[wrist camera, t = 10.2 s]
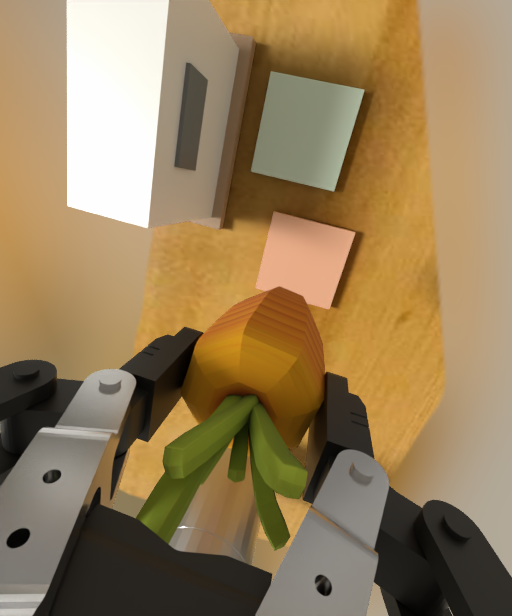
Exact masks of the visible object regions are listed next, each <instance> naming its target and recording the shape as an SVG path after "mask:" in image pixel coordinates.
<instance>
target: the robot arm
mask: <svg viewBox="0 0 512 616" xmlns="http://www.w3.org/2000/svg"><path fill="white" fill-rule="evenodd" d="M203 334H204V333H203V332H200V331H197V330H194V329H191V328H188V327H184V328H183V329H181V330H180V331H179V332H178V333H177V334H176V335H175V336H171V335H165V336H162V337H160V338H157V339H155V340H154V341H153V342H152V343H150V344H149V345H148V347H145V348H144V349H143V350H142V351H141V352H139V353H138V354H137V355H136V356H134V357H133V358H132V359H131V360H130V361H128V362H127V363H126V364H125V365H123V366H122V367H121V368H120V369H106V370H101V371H98V372H95V373H93V374H91V375H89V376H88V377H87V378H86V379H85V381H75V380H66V379H57V370H56V367H55V366H54V365H53V364H51V363H49V362H46V361H42V360H25V361H19V362H15V363H12V364H9V365H7V366H4V367H1V368H0V430H1V433H0V616H366V614H367V609H368V605H369V599H370V596H371V591H372V586H373V582H375V583H376V584H377V585H378V586H380V589H381V593H382V596H383V599H384V603H385V606H386V609H387V612H388V615H389V616H452V614H453V616H512V577H511V576H510V575H509V573H508V571H507V570H506V568H505V567H504V565H503V564H502V562H501V561H500V559H499V558H498V556H497V555H496V553H495V552H494V550H493V549H492V547H491V546H490V544H489V543H488V541H487V540H486V538H485V536H484V535H483V533H482V532H481V531H480V529H479V528H478V527H477V526H476V524H475V523H474V522H473V521H472V520H471V519H470V518H469V517H468V516H466V515H465V514H464V513H463V512H462V511H460V510H459V509H457V508H456V507H454V506H452V505H450V504H448V503H446V502H443V501H439V500H431V501H428V502H427V503H426V504H425V505H424V506H423V508H421V507H420V506H418V505H416V504H415V503H413V502H412V501H410V500H408V499H407V498H405V497H404V496H402V495H400V494H399V493H397V492H396V491H395V490H394V489H392V488H391V487H390V486H389V479H388V476H387V474H386V472H385V471H384V469H383V468H382V467H381V465H380V464H379V463H378V462H377V461H376V460H374V454H373V448H372V442H371V436H370V430H369V428H368V427H369V424H368V419H367V413H366V407H365V405H364V404H363V402H362V401H361V399H360V398H359V396H357V395H354V394H351V393H349V392H348V382H347V378H345V377H342V376H339V375H336V374H333V373H330V372H326V374H325V393H324V401H323V402H322V404H321V406H320V408H319V410H318V411H317V413H316V415H315V417H314V419H313V420H312V422H311V424H310V426H309V435H308V446H307V457H306V468H305V469H306V470H307V472H308V475H307V481H306V487H305V489H304V491H303V500H304V501H306V502H309V503H312V504H313V505H311V507H310V508H309V510H308V512H307V514H306V516H305V518H304V520H303V522H302V524H301V526H300V528H299V530H298V532H297V534H296V536H295V538H294V540H293V542H292V544H291V546H290V548H289V550H288V552H287V554H286V556H285V558H284V560H283V562H282V563H281V565H280V567H279V569H278V571H277V573H276V575H275V577H274V579H273V581H272V583H271V579H272V574H271V573H269V572H266V571H264V570H261V569H259V568H257V567H254V566H252V565H251V564H252V560H253V555H254V550H255V545H256V541H257V536H258V532H259V527H260V522H261V521H260V518H259V515H258V513H257V509H256V502H255V496H254V490H253V482H252V473H251V464H250V457H249V456H247V463H246V472H245V479H244V480H243V481H240V482H236V483H235V482H233V481H231V480H230V479H228V477H227V475H228V469H229V462H230V456H231V450H232V449H230V448H228V447H227V449H226V451H225V452H224V454H223V455H222V457H221V458H220V460H219V461H218V463H217V464H216V466H215V467H214V469H213V470H212V472H211V473H210V475H209V476H208V478H207V479H206V481H205V482H204V484H203V485H200V486H199V488H198V490H197V492H196V494H195V496H194V498H193V500H192V501H191V503H190V505H189V507H188V509H187V511H186V513H185V515H184V517H183V519H182V520H181V522H180V524H179V526H178V528H177V529H176V531H175V533H174V535H173V537H172V538H171V540H170V542H169V544H168V543H166V542H165V541H164V540H163V539H162V538H160V537H159V536H158V535H157V534H155V533H154V532H153V531H152V530H151V529H149V528H148V527H147V526H146V525H144V524H143V523H142V522H141V521H140V520H138V519H135V518H133V517H130V516H128V515H126V514H123V513H121V512H118V511H116V510H113V509H112V507H113V504H114V501H115V498H116V494H117V491H118V488H119V485H120V482H121V479H122V475H123V472H124V469H125V466H126V463H127V459H128V456H129V452H130V446H131V445H132V444H133V442H134V441H135V440H136V439H137V438H138V439H141V440H143V441H146V442H148V441H149V440H150V439H151V437H152V436H153V435H154V433H155V432H156V430H157V429H158V428H159V426H160V425H161V424H162V422H163V421H164V420H165V418H166V417H167V416H168V414H169V413H170V412H171V410H172V409H173V407H174V406H175V405H176V403H177V402H178V401H179V399H180V398H181V397H182V395H181V390H182V386H183V383H184V380H185V377H186V373H187V370H188V367H189V364H190V361H191V358H192V355H193V352H194V349H195V345H196V343H197V341H198V340H199V338H200V337H201V336H202V335H203ZM448 607H450V610H451V612H452V614H451V612H450V610H449V608H448Z"/></svg>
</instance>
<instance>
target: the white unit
mask: <svg viewBox="0 0 512 616" xmlns="http://www.w3.org/2000/svg"><path fill="white" fill-rule="evenodd" d="M255 47H256V42H255V40H254V38H253V37H251V36H245V35H240V34H235V33H229V32H228V30H227V29H226V27H225V25H224V24H223V22H222V20H221V19H220V17H219V15H218V14H217V12H216V11H215V9H214V7H213V6H212V4H211V2H210V1H209V0H67V145H68V146H67V149H68V151H67V159H68V160H67V161H68V162H67V169H68V170H67V174H68V206H69V207H73V208H76V209H80V210H84V211H87V212H91V213H95V214H98V215H102V216H106V217H109V218H113V219H116V220H120V221H123V222H127V223H131V224H135V225H138V226H141V227H145V228H153V227H158V226H164V225H170V224H176V223H181V222H187V221H189V222H192V223H196V224H200V225H203V226H207V227H211V228H215V229H218V230H220V229H223V224H224V219H225V213H226V208H227V202H228V196H229V191H230V185H231V180H232V174H233V169H234V163H235V158H236V152H237V147H238V141H239V136H240V130H241V125H242V119H243V114H244V108H245V103H246V97H247V92H248V86H249V80H250V75H251V69H252V64H253V58H254V53H255Z"/></svg>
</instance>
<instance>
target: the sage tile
mask: <svg viewBox="0 0 512 616" xmlns="http://www.w3.org/2000/svg"><path fill="white" fill-rule="evenodd" d="M363 94H364V89H359V88H354V87H349V86H344V85H339V84H334V83H329V82H324V81H318V80H313V79H308V78H303V77H298V76H293V75H288V74H283V73H278V72H273V71H271V73H270V78H269V83H268V88H267V93H266V98H265V103H264V108H263V113H262V118H261V123H260V128H259V133H258V138H257V143H256V148H255V153H254V158H253V163H252V168H251V172H254V173H258V174H262V175H267V176H271V177H275V178H279V179H283V180H287V181H291V182H296V183H300V184H304V185H308V186H312V187H316V188H320V189H325V190H329V191H333V192H334V190H335V187H336V184H337V180H338V177H339V174H340V170H341V167H342V164H343V160H344V157H345V154H346V150H347V147H348V144H349V140H350V137H351V134H352V130H353V127H354V124H355V120H356V117H357V114H358V110H359V107H360V104H361V100H362V97H363Z"/></svg>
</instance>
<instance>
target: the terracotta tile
mask: <svg viewBox="0 0 512 616" xmlns="http://www.w3.org/2000/svg"><path fill="white" fill-rule="evenodd" d="M355 233H356V232H355V231H351V230H347V229H343V228H339V227H335V226H331V225H327V224H324V223H320V222H316V221H312V220H308V219H304V218H300V217H296V216H292V215H288V214H284V213H280V212H276V211H274V212H273V216H272V220H271V225H270V229H269V233H268V237H267V242H266V246H265V250H264V254H263V258H262V263H261V267H260V271H259V275H258V280H257V284H256V289H260V290H263V291H268V290H271V289H273V288H276V287H279V286H280V287H283V288H285V289H287V290H290V291H292V292H295V293H297V294H299V295H302V296H303V297H304V299H305V301H306V303H308V304H312V305H315V306H319V307H322V308H326V309H330V306H331V303H332V300H333V297H334V294H335V291H336V288H337V285H338V283H339V280H340V277H341V274H342V271H343V268H344V265H345V262H346V259H347V256H348V253H349V250H350V247H351V244H352V242H353V239H354V236H355Z"/></svg>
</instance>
